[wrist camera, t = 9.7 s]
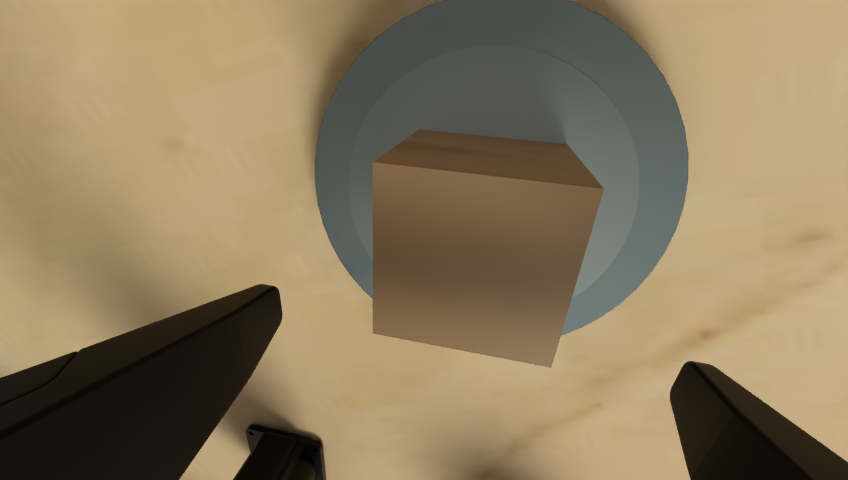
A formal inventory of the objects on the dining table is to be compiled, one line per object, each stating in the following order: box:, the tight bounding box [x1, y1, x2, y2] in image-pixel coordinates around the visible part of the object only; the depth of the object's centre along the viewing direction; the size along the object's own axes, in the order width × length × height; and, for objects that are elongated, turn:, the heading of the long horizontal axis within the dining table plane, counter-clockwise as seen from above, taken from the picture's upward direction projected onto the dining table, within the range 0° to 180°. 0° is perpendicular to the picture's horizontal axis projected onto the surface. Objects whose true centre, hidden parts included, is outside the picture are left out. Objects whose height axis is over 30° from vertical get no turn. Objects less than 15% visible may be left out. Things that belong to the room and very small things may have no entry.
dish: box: [315, 0, 688, 336], centre depth 17 cm, size 16×16×2 cm
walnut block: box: [373, 129, 604, 367], centre depth 13 cm, size 6×6×6 cm
